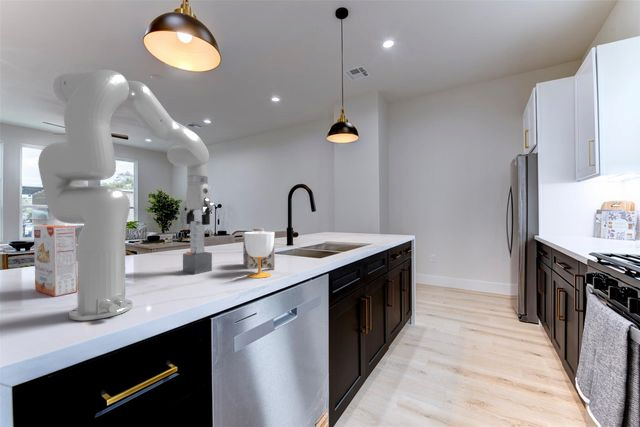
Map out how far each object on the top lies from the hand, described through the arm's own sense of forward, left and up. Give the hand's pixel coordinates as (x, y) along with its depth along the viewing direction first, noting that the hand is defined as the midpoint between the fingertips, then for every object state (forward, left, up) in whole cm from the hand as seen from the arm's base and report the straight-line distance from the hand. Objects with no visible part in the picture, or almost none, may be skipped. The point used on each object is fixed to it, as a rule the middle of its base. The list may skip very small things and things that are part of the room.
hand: (198, 224), depth 111 cm
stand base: (0, 0, -20) cm, 20 cm away
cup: (-22, -12, -20) cm, 32 cm away
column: (0, 0, -19) cm, 19 cm away
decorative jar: (-12, -22, -20) cm, 32 cm away
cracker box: (+17, +38, -20) cm, 46 cm away
